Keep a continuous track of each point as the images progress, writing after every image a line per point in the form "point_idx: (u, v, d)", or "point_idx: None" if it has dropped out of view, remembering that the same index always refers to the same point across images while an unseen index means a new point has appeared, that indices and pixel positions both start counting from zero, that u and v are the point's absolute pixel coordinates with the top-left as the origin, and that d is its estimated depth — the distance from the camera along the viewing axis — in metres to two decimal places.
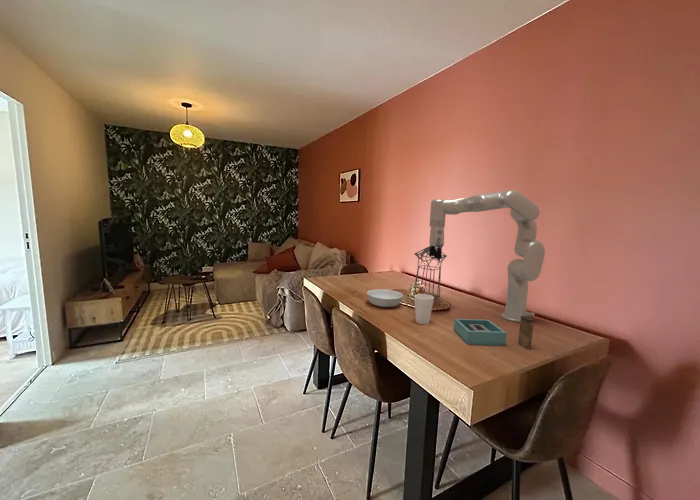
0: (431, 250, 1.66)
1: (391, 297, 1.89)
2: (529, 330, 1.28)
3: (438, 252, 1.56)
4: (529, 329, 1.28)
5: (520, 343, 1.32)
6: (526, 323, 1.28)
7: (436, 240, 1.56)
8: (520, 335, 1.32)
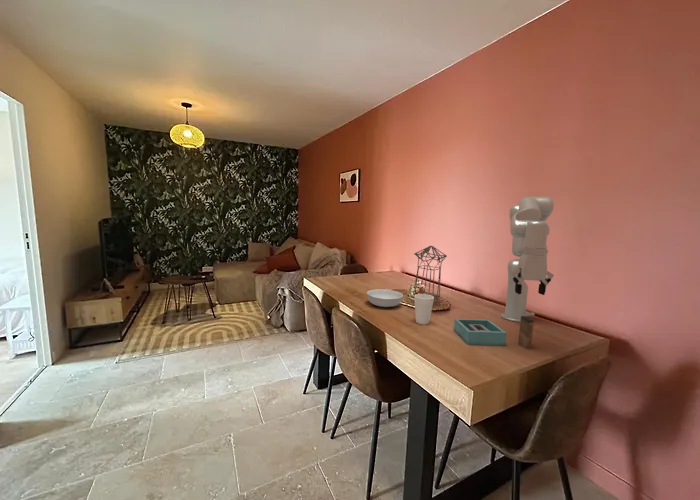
0: None
1: (391, 297, 1.89)
2: (529, 330, 1.28)
3: None
4: (529, 329, 1.28)
5: (520, 343, 1.32)
6: (526, 323, 1.28)
7: None
8: (520, 335, 1.32)
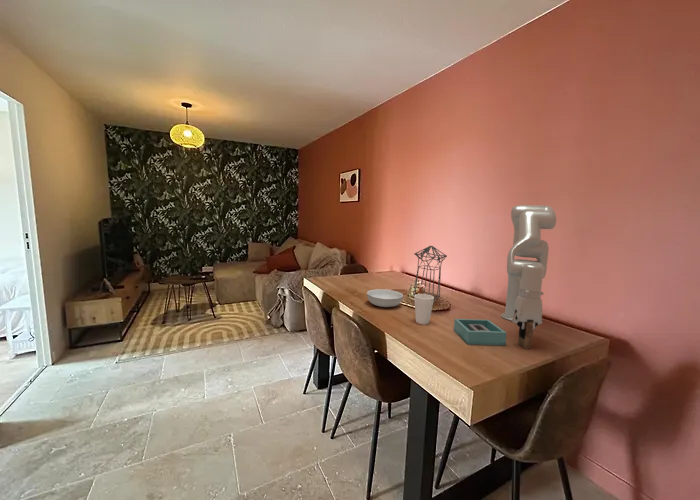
0: None
1: (391, 297, 1.89)
2: (529, 330, 1.28)
3: None
4: (529, 329, 1.28)
5: (520, 343, 1.32)
6: (526, 323, 1.28)
7: None
8: None
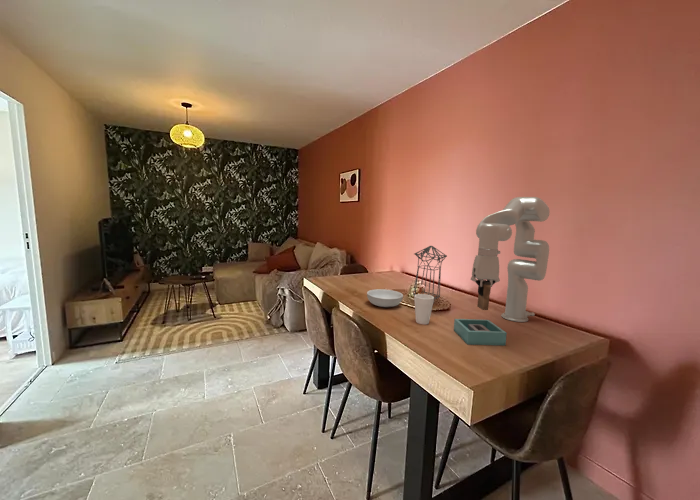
0: None
1: (391, 297, 1.89)
2: (487, 292, 1.33)
3: None
4: (486, 291, 1.33)
5: (479, 306, 1.37)
6: (484, 285, 1.33)
7: None
8: (479, 298, 1.37)
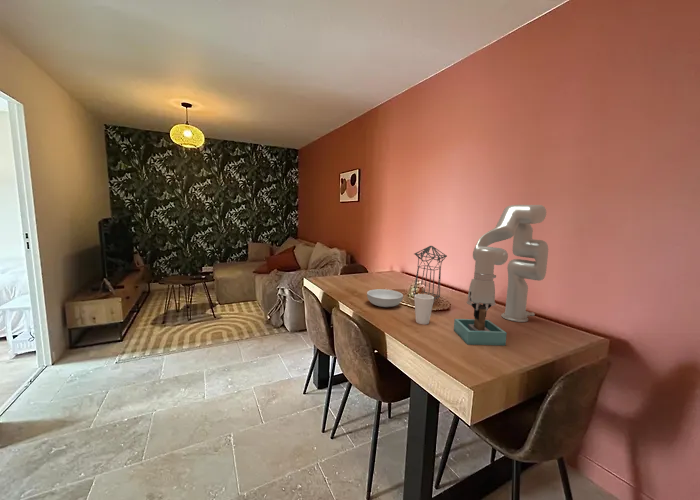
0: None
1: (391, 297, 1.89)
2: (482, 316, 1.34)
3: None
4: (482, 316, 1.34)
5: None
6: (479, 310, 1.35)
7: None
8: (475, 322, 1.39)
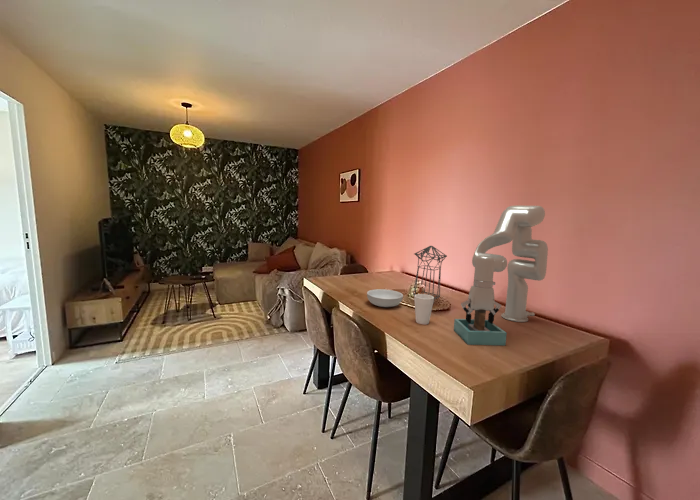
0: None
1: (391, 297, 1.89)
2: (482, 320, 1.34)
3: None
4: (481, 319, 1.34)
5: None
6: (479, 313, 1.35)
7: None
8: (474, 325, 1.39)
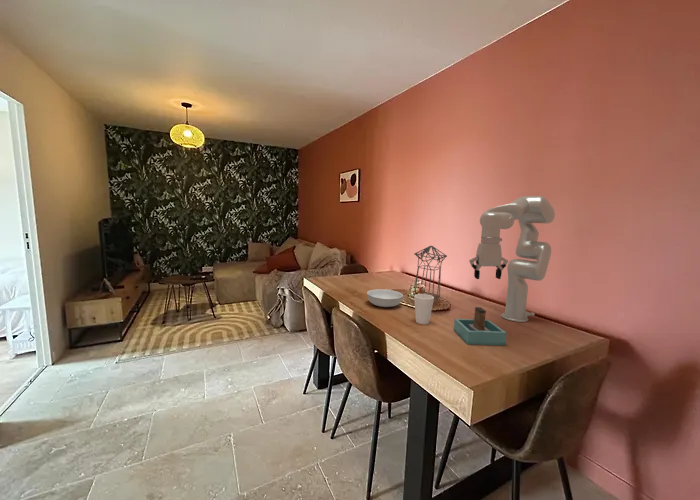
0: None
1: (391, 297, 1.89)
2: (482, 320, 1.34)
3: None
4: (481, 319, 1.34)
5: None
6: (479, 313, 1.35)
7: None
8: (474, 325, 1.39)
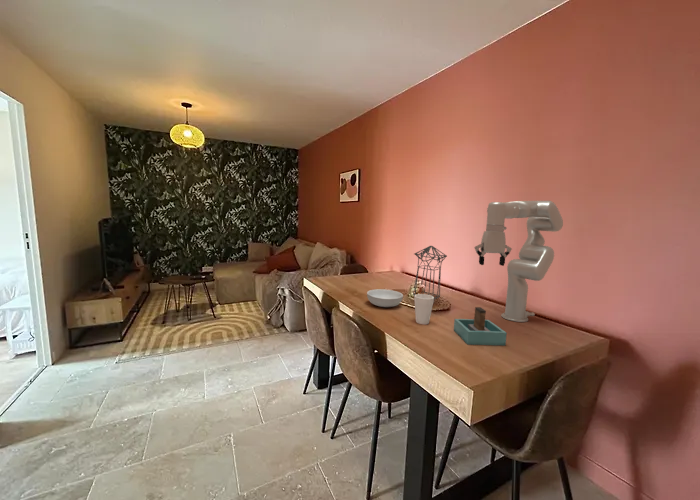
0: None
1: (391, 297, 1.89)
2: (482, 320, 1.34)
3: None
4: (481, 319, 1.34)
5: None
6: (479, 313, 1.35)
7: None
8: (474, 325, 1.39)
